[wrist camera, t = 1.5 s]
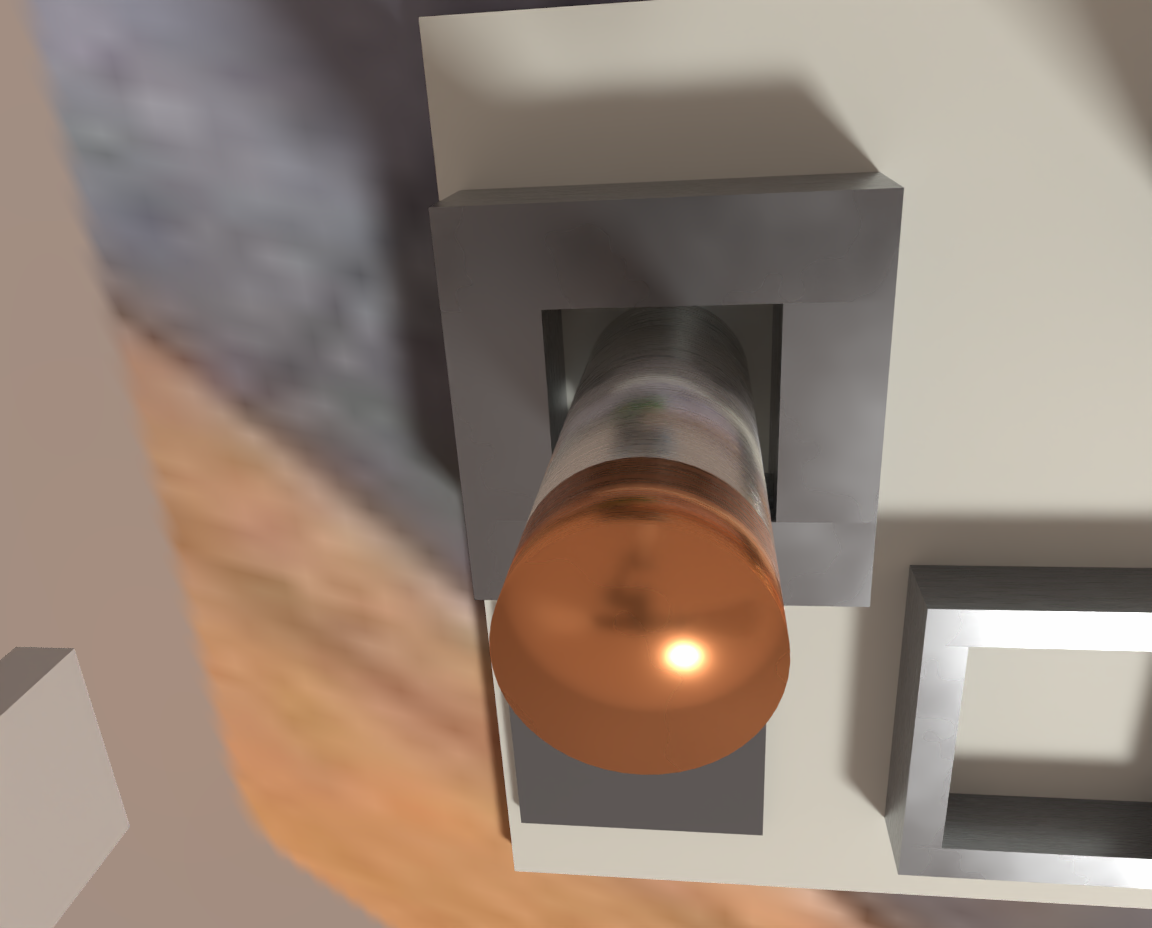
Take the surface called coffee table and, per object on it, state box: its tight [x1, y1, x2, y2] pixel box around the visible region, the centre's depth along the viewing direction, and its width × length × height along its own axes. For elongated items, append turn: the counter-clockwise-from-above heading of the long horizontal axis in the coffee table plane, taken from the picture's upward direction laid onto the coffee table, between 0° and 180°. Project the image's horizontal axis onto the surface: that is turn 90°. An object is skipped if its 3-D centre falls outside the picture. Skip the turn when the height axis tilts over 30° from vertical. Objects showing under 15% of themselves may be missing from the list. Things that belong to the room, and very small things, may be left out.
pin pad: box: [509, 705, 766, 836], centre depth 25 cm, size 7×7×1 cm
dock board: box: [419, 0, 1152, 909], centre depth 23 cm, size 24×22×1 cm
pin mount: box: [428, 172, 904, 607], centre depth 20 cm, size 9×9×3 cm
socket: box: [884, 565, 1152, 889], centre depth 23 cm, size 8×8×2 cm
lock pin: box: [489, 306, 790, 775], centre depth 17 cm, size 4×4×11 cm
